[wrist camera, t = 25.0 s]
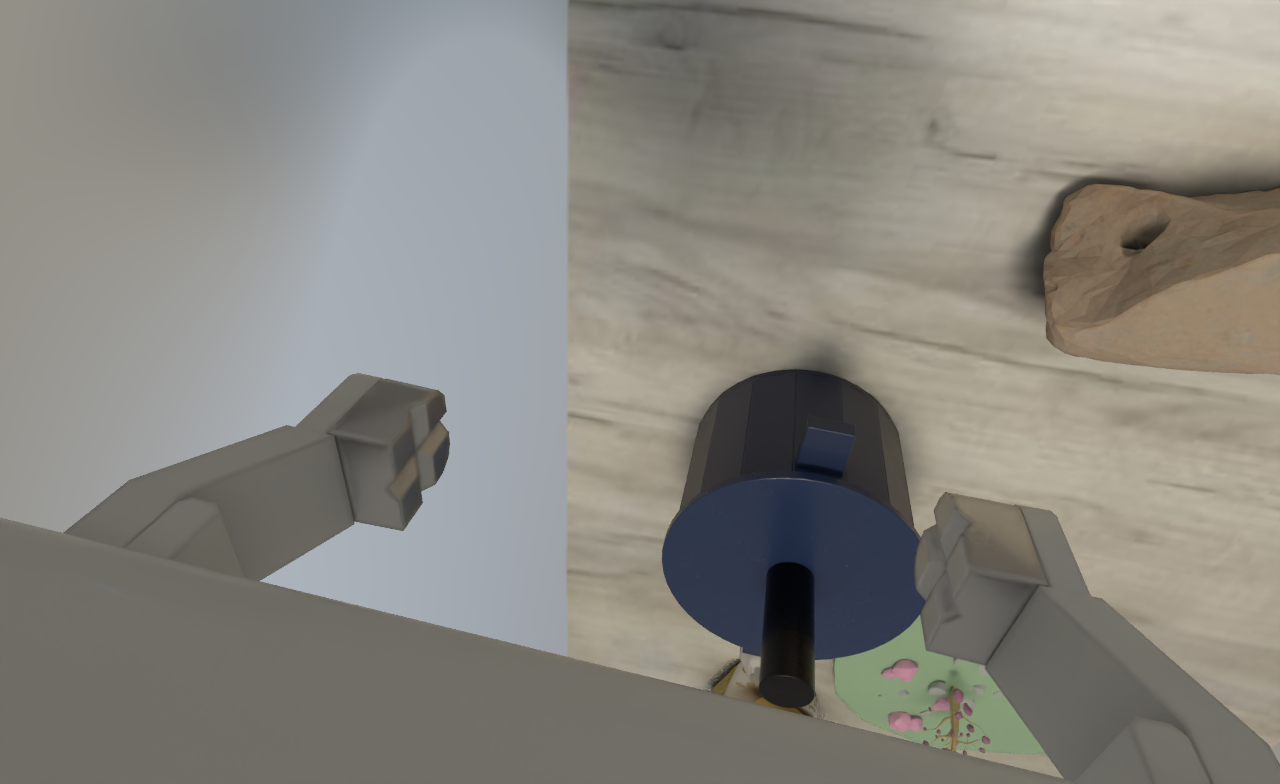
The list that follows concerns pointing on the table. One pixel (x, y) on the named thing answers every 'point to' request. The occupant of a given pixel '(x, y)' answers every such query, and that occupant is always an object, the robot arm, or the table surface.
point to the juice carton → (753, 691)
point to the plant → (931, 697)
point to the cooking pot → (799, 436)
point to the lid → (793, 572)
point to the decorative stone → (1166, 279)
